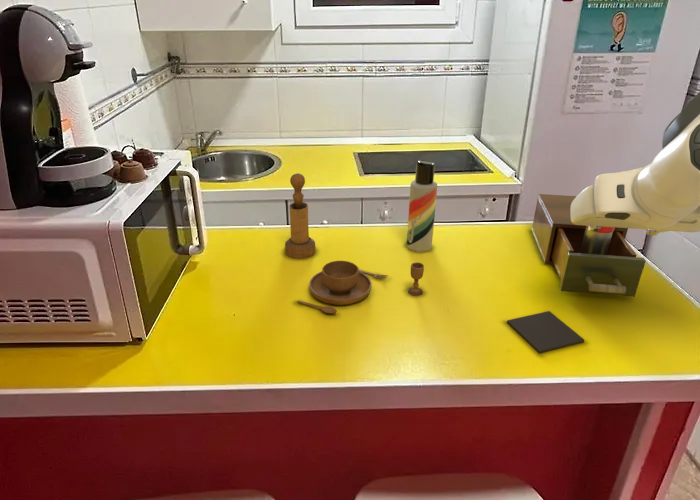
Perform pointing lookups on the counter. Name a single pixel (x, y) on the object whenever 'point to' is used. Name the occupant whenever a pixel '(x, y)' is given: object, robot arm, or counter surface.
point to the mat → (545, 332)
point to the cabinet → (554, 222)
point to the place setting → (349, 284)
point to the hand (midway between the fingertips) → (621, 229)
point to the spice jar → (597, 241)
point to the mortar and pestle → (299, 223)
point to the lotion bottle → (422, 208)
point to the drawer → (595, 265)
